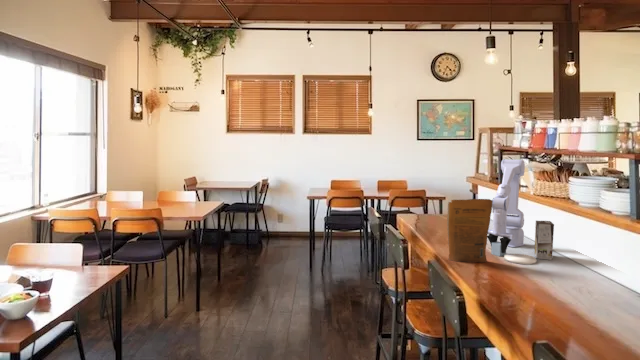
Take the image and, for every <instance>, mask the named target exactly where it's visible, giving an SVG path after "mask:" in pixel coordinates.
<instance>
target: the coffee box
mask: <svg viewBox="0 0 640 360" xmlns="http://www.w3.org/2000/svg"><path fill="white" fill-rule="evenodd" d="M534 227H535V229H534V231H535V232H534V251H533V252H534V256H535V258H536V259H538V260H539V259H540V260H548V261H549V260H550V261H552V260H553V250H554V249H553V247H554V246H553V245H554V231H555V229H554V228H555V224H554V222H552V221H550V220H535V226H534Z"/></svg>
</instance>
